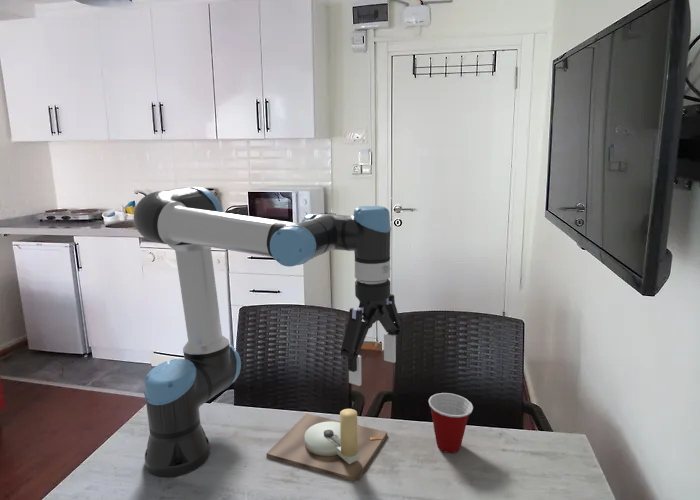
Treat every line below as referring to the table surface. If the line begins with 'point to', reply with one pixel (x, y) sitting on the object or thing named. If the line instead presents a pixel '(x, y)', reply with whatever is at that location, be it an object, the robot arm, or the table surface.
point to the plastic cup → (449, 420)
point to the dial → (335, 437)
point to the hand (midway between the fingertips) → (373, 372)
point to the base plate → (297, 454)
